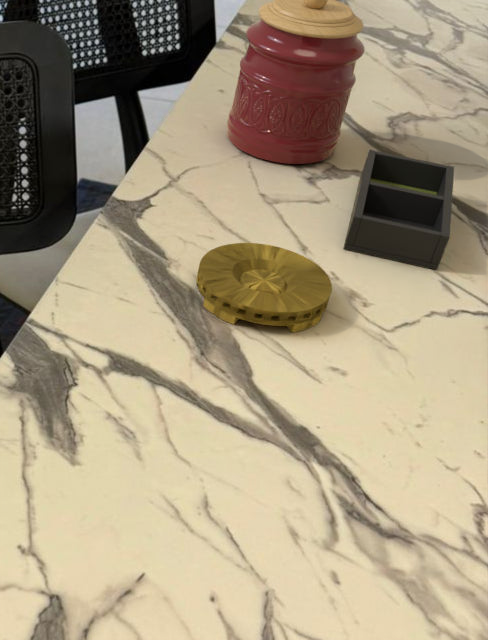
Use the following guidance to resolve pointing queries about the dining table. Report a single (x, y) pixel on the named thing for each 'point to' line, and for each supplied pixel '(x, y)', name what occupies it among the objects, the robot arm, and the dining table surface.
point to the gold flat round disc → (263, 286)
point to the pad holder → (402, 210)
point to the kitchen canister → (295, 80)
